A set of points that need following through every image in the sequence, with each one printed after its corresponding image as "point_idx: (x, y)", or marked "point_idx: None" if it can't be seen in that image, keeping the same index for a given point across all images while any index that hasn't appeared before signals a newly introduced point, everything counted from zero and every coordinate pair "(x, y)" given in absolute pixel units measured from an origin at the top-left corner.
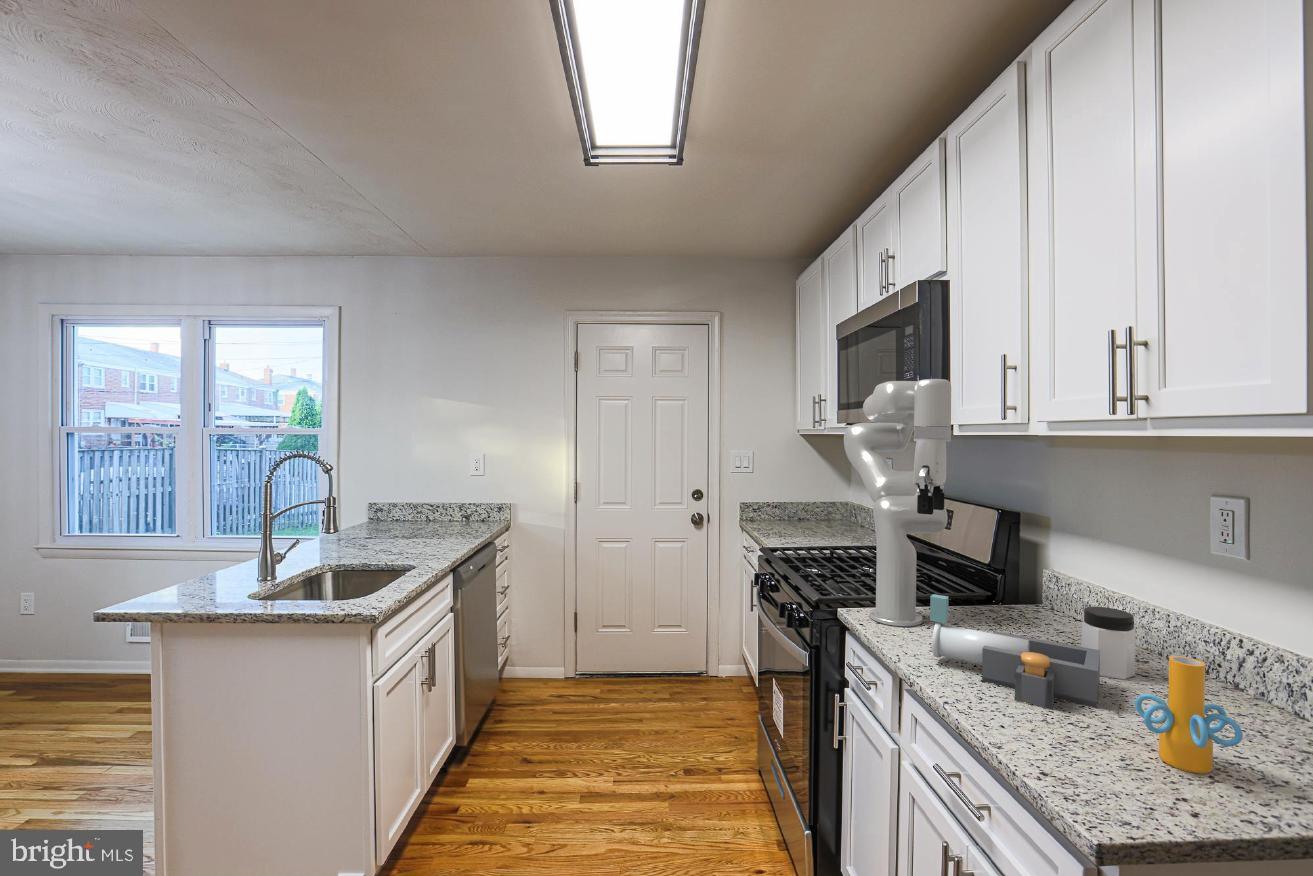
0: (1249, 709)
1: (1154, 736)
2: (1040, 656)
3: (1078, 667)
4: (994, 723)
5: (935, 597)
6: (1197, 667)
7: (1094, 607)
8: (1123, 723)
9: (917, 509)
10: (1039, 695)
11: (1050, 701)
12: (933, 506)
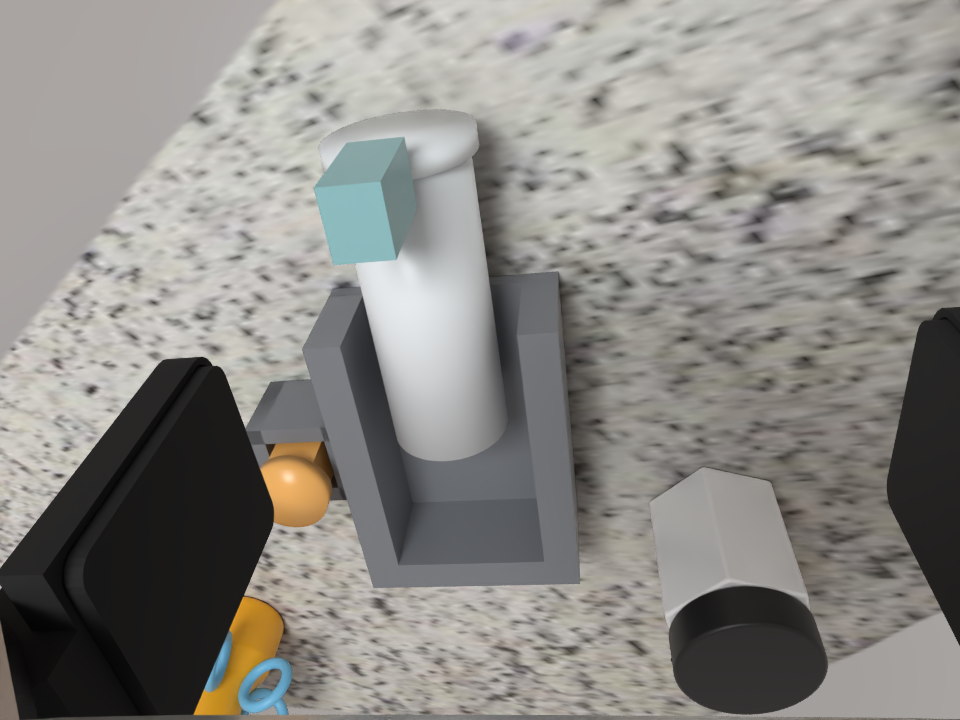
0: (634, 694)
1: (328, 589)
2: (302, 508)
3: (365, 557)
4: (89, 374)
5: (321, 214)
6: None
7: (797, 644)
8: (347, 552)
9: (142, 389)
10: None
11: None
12: (231, 605)
